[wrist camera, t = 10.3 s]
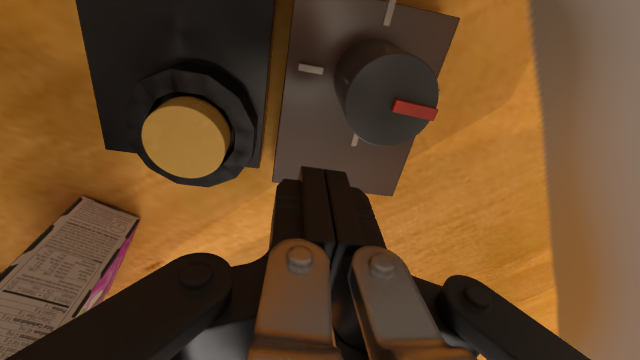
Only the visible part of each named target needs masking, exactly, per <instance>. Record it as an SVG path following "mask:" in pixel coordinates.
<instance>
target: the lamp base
mask: <svg viewBox="0 0 640 360" xmlns="http://www.w3.org/2000/svg"><path fill="white" fill-rule="evenodd" d="M76 5H77V10H78V15H79V20H80V25H81V30H82V35H83V40H84V45H85V50H86V55H87V59H88V64H89V69H90V74H91V79H92V84H93V89H94V94H95V99H96V104H97V109H98V114H99V119H100V124H101V129H102V134H103V139H104V143H105V148H106V149H107V150H115V151H123V152H131V153H137V154H138V155H139V156H140V158H141V159H142V160H143V162H144V163H145V164H146V165H147V167H149V168H150V169H151V170H153V171H155V172H157V173H159V174H160V175H162V176H164V177H166V178H168V179H169V180H171V181H173V182H175V183H177V184H184V185H193V186H201V187H211V186H214V185H217V184H220V183H223V182H226V181H229V180H231V179H234V178H236V177H237V176H238V175H239V174H240V172H241V171H242V170H243V169H244V167H251V168H259V167H260V162H261V157H262V150H263V139H264V129H265V119H266V109H267V99H268V88H269V78H270V68H271V58H272V47H273V37H274V27H275V17H276V7H277V0H76ZM179 96H191V97H196V98H199V99H202V100H204V101H206V102H208V103H210V104H212V105H213V106H214V107H215V108H217V109H218V110H219V111H220V112H221V114H222V115H223V116H224V118H225V119H226V121H227V123H228V125H229V129H230V135H231V139H230V144H229V147H228V150H227V152H226V154H225V157H224V159H223V161H222V163H221V165H220V166H219V167H218V168H217V169H216V170H215V171H214V172H212V173H210V174H208V175H206V176H203V177H199V178H184V177H179V176H175V175H173V174H170V173H168V172H166V171H165V170H163V169H161V168H160V167H159V166H158V165H156V164H155V163H154V162H153V161H152V159H151V158H150V157H149V156H148V154H147V152H146V150H145V148H144V146H143V142H142V127H143V124H144V122H145V120H146V119H147V117H148V116H149V115H150V114H151V113H152V112H153V111H155V110H156V109H157V108H158V107H159V106H161V105H162V104H163V103H164V102H166V101H167V100H169V99H171V98H175V97H179Z"/></svg>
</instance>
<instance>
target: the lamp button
mask: <svg viewBox="0 0 640 360" xmlns="http://www.w3.org/2000/svg"><path fill="white" fill-rule="evenodd" d="M230 139H231V135H230V129H229V125H228V123H227V121H226V119H225V118H224V116H223V115H222V114H221V112H220V111H219V110H218V109H217V108H215V107H214V106H213V105H212V104H210V103H208V102H206V101H204V100H202V99H199V98H196V97H191V96H179V97H175V98H171V99H169V100H167V101H166V102H164V103H163V104H162V105H161V106H159V107H158V108H157V109H156V110H155V111H153V112H152V113H151V114H150V115H149V116H148V117H147V119H146V120H145V122H144V124H143V127H142V142H143V146H144V148H145V150H146V152H147V154H148V156H149V157H150V158H151V159H152V161H153V162H154V163H155V164H156V165H158V166H159V167H160V168H161V169H163V170H165V171H166V172H168V173H170V174H173V175H175V176H179V177H184V178H199V177H203V176H206V175H208V174H210V173H212V172H214V171H215V170H216V169H217V168H218V167H219V166H220V165H221V163H222V161H223V159H224V157H225V154H226V152H227V150H228V147H229V144H230Z"/></svg>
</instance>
